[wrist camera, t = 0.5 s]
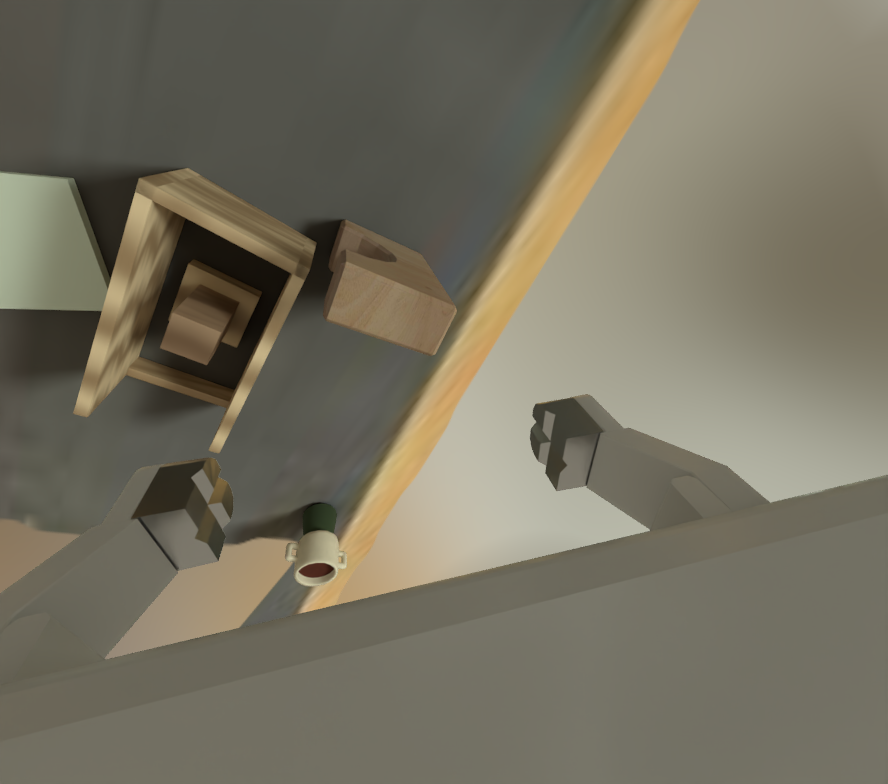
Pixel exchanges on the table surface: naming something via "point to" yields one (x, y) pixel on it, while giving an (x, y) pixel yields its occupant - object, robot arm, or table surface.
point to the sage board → (48, 246)
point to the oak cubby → (187, 288)
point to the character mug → (317, 548)
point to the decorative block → (386, 291)
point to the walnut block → (199, 324)
